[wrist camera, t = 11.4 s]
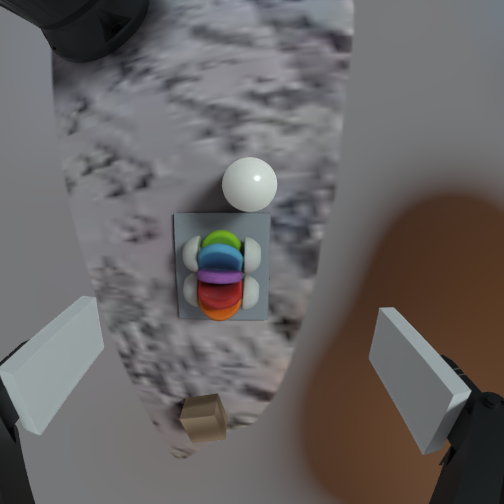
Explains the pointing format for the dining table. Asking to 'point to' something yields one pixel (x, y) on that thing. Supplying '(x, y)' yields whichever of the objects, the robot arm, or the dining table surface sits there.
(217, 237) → the rainbow wheeled toy
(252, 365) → the dining table surface
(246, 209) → the white glossy rounded part
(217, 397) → the walnut block
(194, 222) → the felt mat
